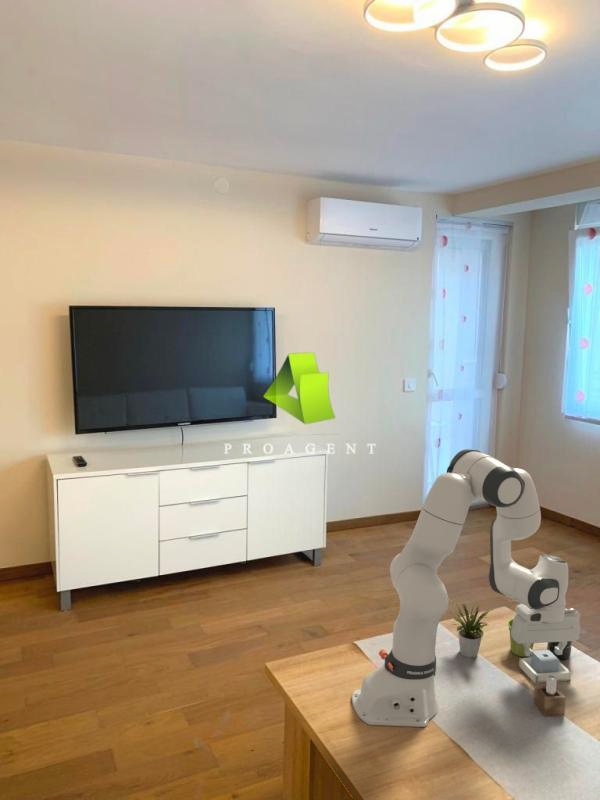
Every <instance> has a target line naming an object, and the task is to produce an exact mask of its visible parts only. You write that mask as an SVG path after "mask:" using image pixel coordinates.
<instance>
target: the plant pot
mask: <svg viewBox="0 0 600 800" xmlns="http://www.w3.org/2000/svg"><path fill="white" fill-rule="evenodd" d="M513 619H514V618H511V619H509V620H508V621H507V626H508V629H509V642H510V651H511V652H512V653H513V654H514V655H516V656H519V657H523V658H525V657H527V656H526V655H525V647H524V645H523V644H518V643H517V642H516V641H515V640H514V639H513V638H512V636H511V629H512V623H513ZM534 644H535V643H531V646H529V648H530V649H531V650H532V651H533V649H534Z"/></svg>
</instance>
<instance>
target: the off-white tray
mask: <svg viewBox="0 0 600 800" xmlns="http://www.w3.org/2000/svg"><path fill="white" fill-rule="evenodd" d="M518 660H519V662H518V667H519V668H520V669H521V671H523V672H524V674H526V675H527V676H528V678H529V679H530V680H531V681H532V682H534V684H546V683H547V676H554V677H556V678H557V683H560V682H570V681H571V679H572V672H571V671H570V670H569V669H568V668H567V667H566V666H565V665H564V664H562V663H561V661H559V671H558V672H552V673H539V674H537V673H536V672H535V671H534V670H533V669H532V668H531V667H530V666H531V657H523V658H521V657H520V658H519V659H518Z"/></svg>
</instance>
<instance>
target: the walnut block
mask: <svg viewBox="0 0 600 800" xmlns="http://www.w3.org/2000/svg"><path fill="white" fill-rule="evenodd" d="M545 693H546V685H539V686H534V695H533V706H534V707H536V709H537V710H538V711H539V712H540V713H541V714H542V715H543V716H544V718H547V716H549V717H557V716H559V715H560V716H564V715H565V710H566V699H567V698H566V696H565V694H563V693H562V692H561V691H560V690H559V689H558V688H557V687H556V693H555V696H549V697H548V696H547V695H546V694H545Z"/></svg>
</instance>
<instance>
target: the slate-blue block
mask: <svg viewBox="0 0 600 800" xmlns="http://www.w3.org/2000/svg"><path fill="white" fill-rule="evenodd" d="M532 651H533V656H532V657H530V658H531V666H530V667H531V668H532V669H533V670H534V671H535V672H536V673H537V674H539V673H552V672H558V671H559V662H561V661H560V660H559V659H558V658H557V657H556V656H555V655H554V654H553V653H552V652H551V651H549V650H547V649H545V650H542V649H541V650H532Z"/></svg>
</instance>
